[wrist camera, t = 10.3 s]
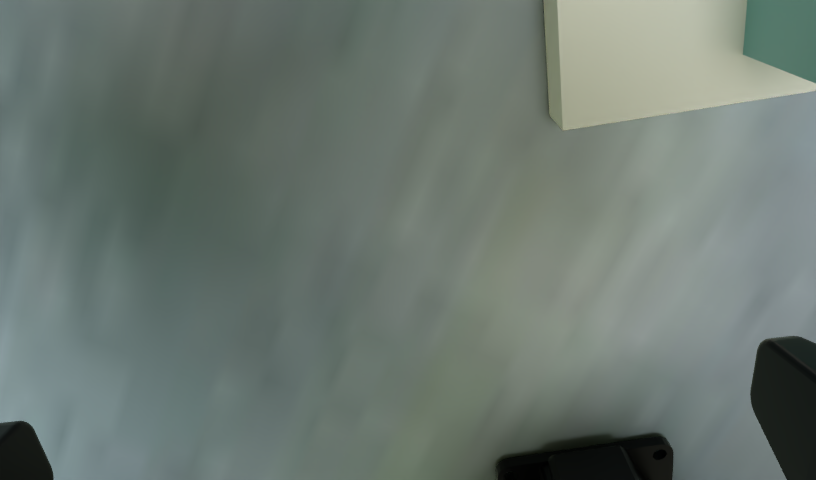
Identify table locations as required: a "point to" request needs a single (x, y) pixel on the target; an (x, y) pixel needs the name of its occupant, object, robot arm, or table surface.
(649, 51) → the base plate
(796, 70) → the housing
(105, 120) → the table surface
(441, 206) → the table surface
